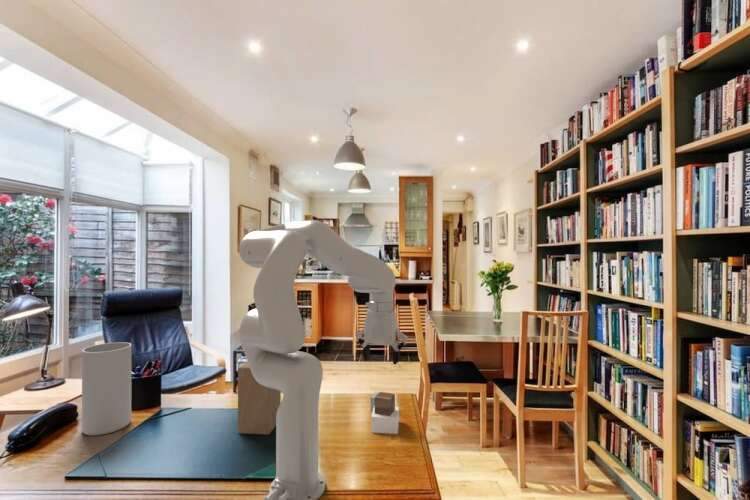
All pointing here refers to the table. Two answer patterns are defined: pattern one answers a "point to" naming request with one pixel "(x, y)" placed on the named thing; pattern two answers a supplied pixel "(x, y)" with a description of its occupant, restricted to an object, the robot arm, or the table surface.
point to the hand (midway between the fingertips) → (381, 361)
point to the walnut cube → (384, 403)
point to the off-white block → (385, 422)
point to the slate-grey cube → (373, 401)
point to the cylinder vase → (106, 388)
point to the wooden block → (255, 404)
